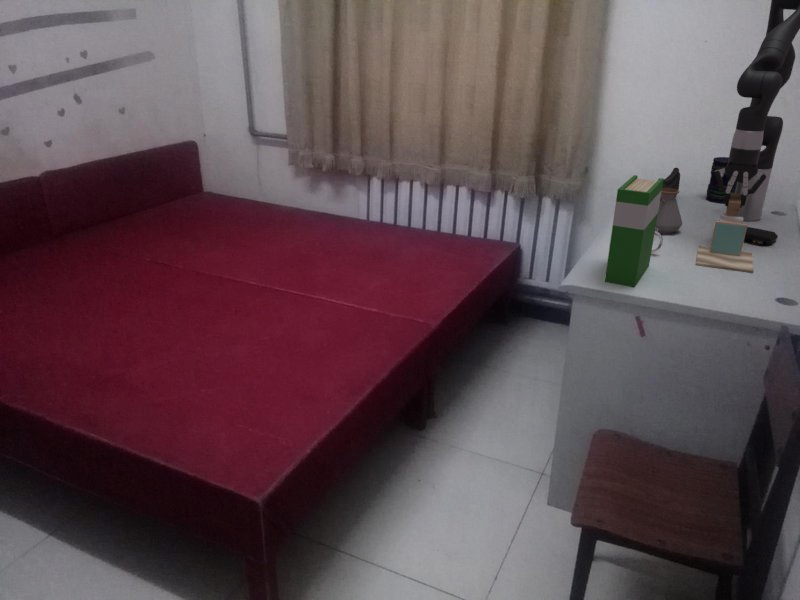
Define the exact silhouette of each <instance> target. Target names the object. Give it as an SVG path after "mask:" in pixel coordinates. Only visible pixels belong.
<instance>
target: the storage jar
mask: <svg viewBox="0 0 800 600" xmlns="http://www.w3.org/2000/svg"><path fill="white" fill-rule="evenodd" d="M728 159H729V156H727V157H725V156H717V157H714V158H713V162H712V164H711V168H710V169H711V170H710V179H709V183H708V185H707V189H706V197H705V201H708V202H710V203H714V204H721V205H725V204H724V197H725V192H723V191H720V190H719V186H718V183H717V179H716V176H715V171H716V170H720V169H724V168H725V166H726V165H727V164H728ZM721 178H722V181H723V185H724V186H725V187H727V185H728V182H729V180H730V179H729V177H728V176H727V174H726V172H724V175H723V177H721ZM736 185H737V182H734V184H733V186H732V189H731V191H730V193H735V190H736Z"/></svg>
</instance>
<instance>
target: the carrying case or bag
mask: <svg viewBox="0 0 800 600" xmlns="http://www.w3.org/2000/svg"><path fill="white" fill-rule="evenodd" d="M778 237H779V236H778V235H777V233H776V232H774V231H771V230H767V229H762V228H755V227H750V226H747V230H746V234H745V238H744V243H747V242H748V243H749V244H752V243H753V245H757V244H758V245H757V246H763V245H764V246H765V247H767V246H770V245H771V244H773V243H774V242H775V241H776V240H777V239H778Z"/></svg>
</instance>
